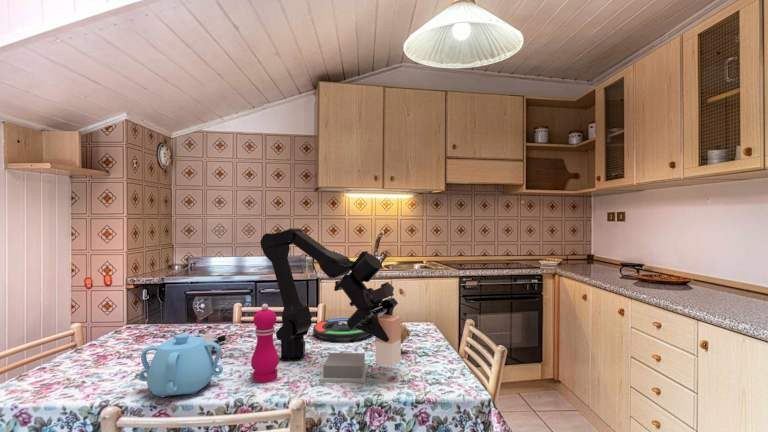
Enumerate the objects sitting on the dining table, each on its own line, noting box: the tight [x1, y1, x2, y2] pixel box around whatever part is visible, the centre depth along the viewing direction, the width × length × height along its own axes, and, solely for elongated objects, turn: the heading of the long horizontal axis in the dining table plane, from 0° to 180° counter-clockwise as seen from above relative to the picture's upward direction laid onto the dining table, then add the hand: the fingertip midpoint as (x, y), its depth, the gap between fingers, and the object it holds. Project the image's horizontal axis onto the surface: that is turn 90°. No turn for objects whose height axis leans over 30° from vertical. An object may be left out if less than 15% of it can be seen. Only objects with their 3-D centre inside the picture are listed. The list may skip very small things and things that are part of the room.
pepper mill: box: [250, 303, 280, 384], centre depth 109 cm, size 7×7×20 cm
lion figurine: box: [401, 324, 412, 352], centre depth 133 cm, size 15×5×9 cm, turn 35°
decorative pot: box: [138, 333, 224, 397], centre depth 103 cm, size 16×16×14 cm
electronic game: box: [312, 317, 371, 342], centre depth 150 cm, size 23×23×5 cm
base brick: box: [318, 352, 370, 384], centre depth 112 cm, size 12×12×4 cm
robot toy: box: [194, 333, 229, 353], centre depth 133 cm, size 12×4×15 cm
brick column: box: [374, 314, 402, 368], centre depth 109 cm, size 5×5×12 cm
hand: (392, 338), depth 108 cm, fingers closed on brick column, 5 cm apart
